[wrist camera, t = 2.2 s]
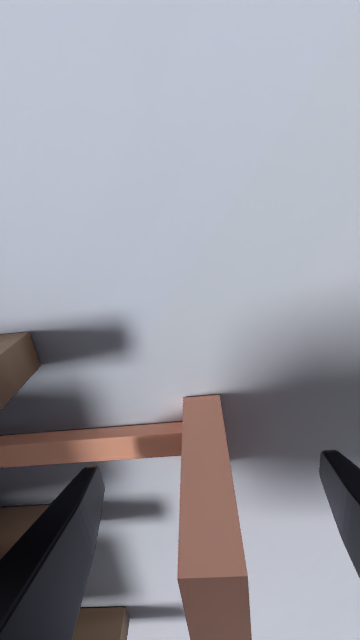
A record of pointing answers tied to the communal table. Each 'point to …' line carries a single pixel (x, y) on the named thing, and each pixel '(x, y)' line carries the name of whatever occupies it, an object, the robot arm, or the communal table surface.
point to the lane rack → (12, 522)
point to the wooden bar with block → (195, 504)
